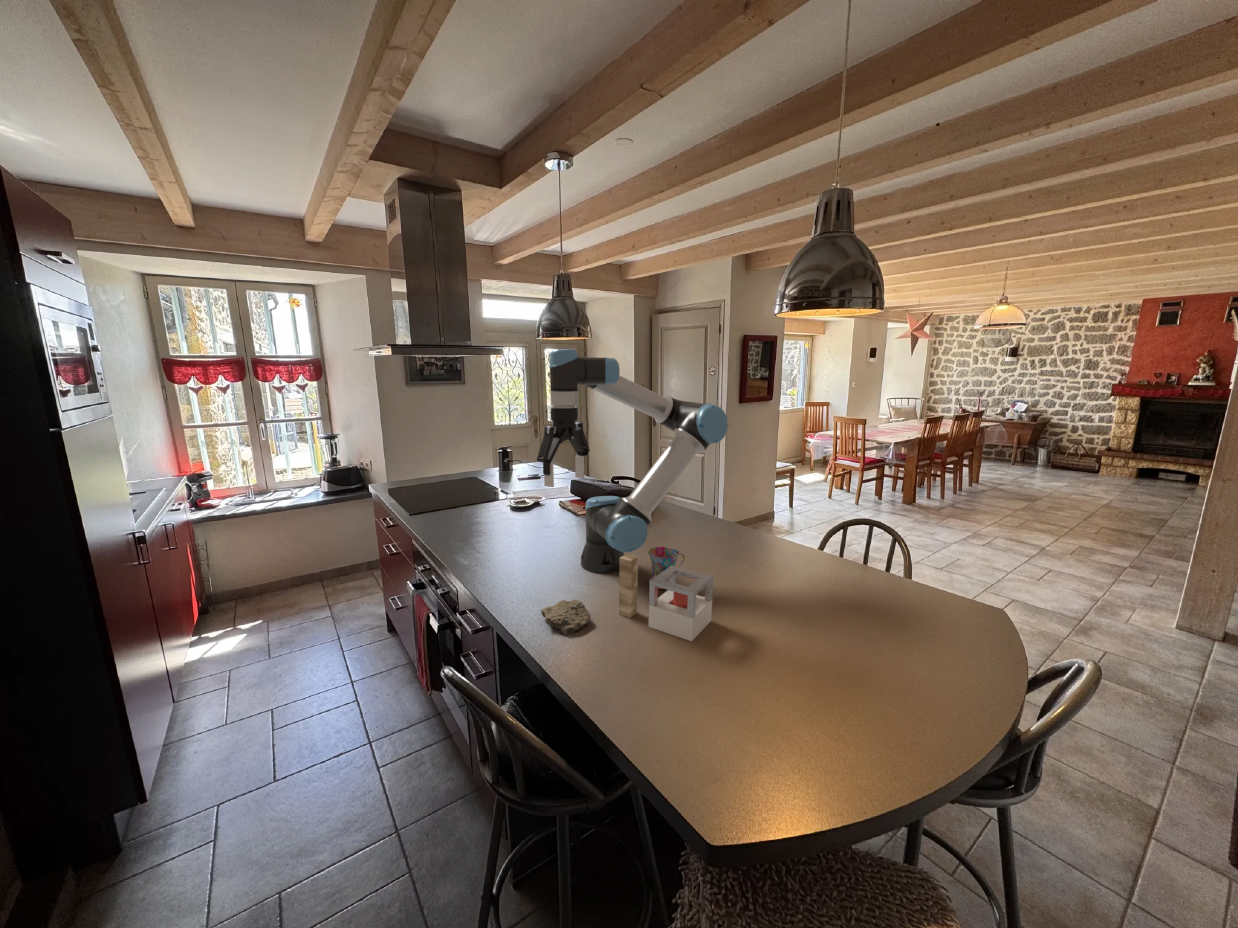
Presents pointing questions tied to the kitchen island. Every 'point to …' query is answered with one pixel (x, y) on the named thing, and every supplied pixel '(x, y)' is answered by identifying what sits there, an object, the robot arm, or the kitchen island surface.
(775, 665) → the kitchen island surface
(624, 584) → the tall wooden block
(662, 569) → the mug
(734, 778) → the kitchen island surface
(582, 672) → the kitchen island surface
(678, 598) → the red dome button
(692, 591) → the frame
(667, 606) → the box
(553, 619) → the rock
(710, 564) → the kitchen island surface
